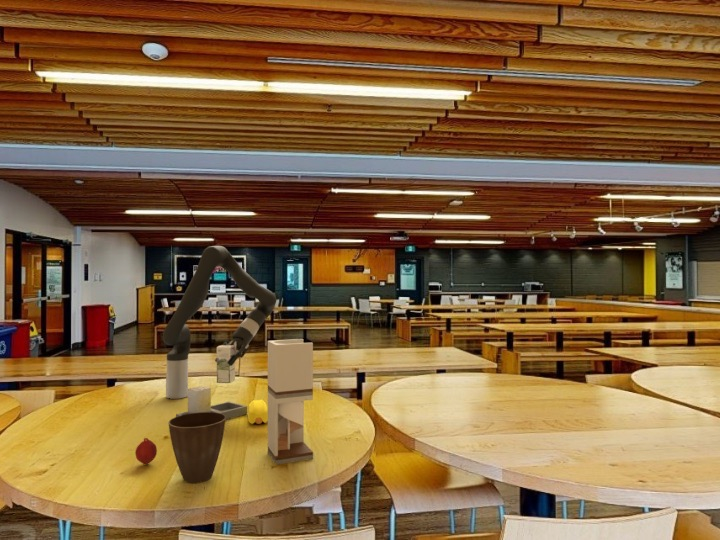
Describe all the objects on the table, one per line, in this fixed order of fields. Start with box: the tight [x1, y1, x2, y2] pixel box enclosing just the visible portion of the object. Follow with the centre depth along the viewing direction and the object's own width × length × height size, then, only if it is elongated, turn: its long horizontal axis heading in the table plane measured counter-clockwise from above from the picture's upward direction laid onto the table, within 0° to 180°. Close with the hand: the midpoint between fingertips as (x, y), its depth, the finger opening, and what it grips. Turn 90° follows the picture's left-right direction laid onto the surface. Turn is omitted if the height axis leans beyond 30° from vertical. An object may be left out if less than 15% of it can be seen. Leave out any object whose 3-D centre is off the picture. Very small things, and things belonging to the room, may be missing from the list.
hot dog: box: [247, 399, 268, 425], centre depth 187 cm, size 18×7×8 cm
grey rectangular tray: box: [175, 401, 248, 421], centre depth 188 cm, size 12×24×3 cm, turn 142°
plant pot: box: [167, 412, 226, 484], centre depth 132 cm, size 15×15×16 cm
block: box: [187, 385, 212, 414], centre depth 184 cm, size 6×6×12 cm
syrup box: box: [216, 344, 236, 384], centre depth 193 cm, size 6×6×14 cm
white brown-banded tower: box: [267, 338, 314, 465], centre depth 149 cm, size 11×11×35 cm
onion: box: [134, 437, 158, 465], centre depth 141 cm, size 6×6×8 cm
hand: (223, 363), depth 192 cm, fingers closed on syrup box, 8 cm apart
